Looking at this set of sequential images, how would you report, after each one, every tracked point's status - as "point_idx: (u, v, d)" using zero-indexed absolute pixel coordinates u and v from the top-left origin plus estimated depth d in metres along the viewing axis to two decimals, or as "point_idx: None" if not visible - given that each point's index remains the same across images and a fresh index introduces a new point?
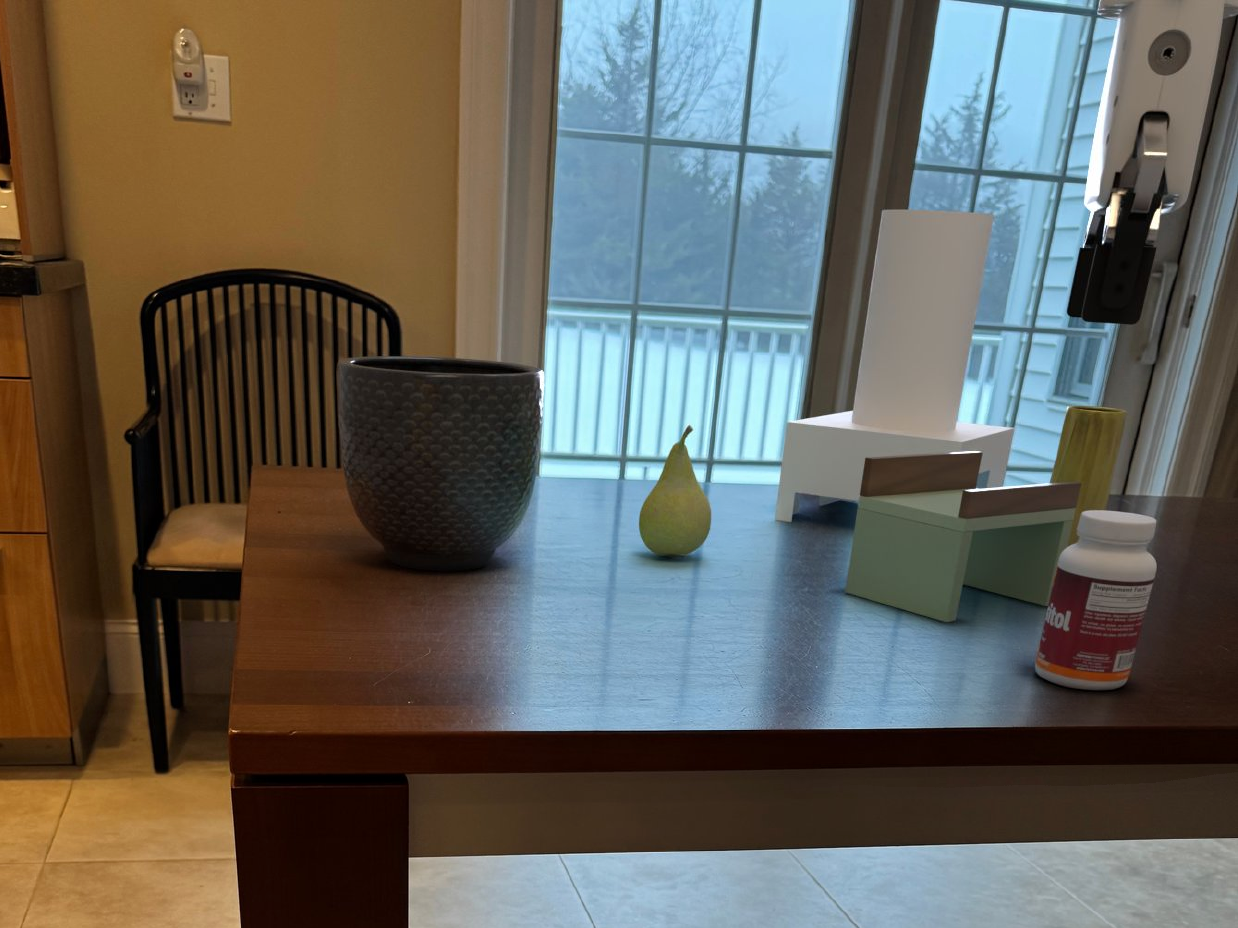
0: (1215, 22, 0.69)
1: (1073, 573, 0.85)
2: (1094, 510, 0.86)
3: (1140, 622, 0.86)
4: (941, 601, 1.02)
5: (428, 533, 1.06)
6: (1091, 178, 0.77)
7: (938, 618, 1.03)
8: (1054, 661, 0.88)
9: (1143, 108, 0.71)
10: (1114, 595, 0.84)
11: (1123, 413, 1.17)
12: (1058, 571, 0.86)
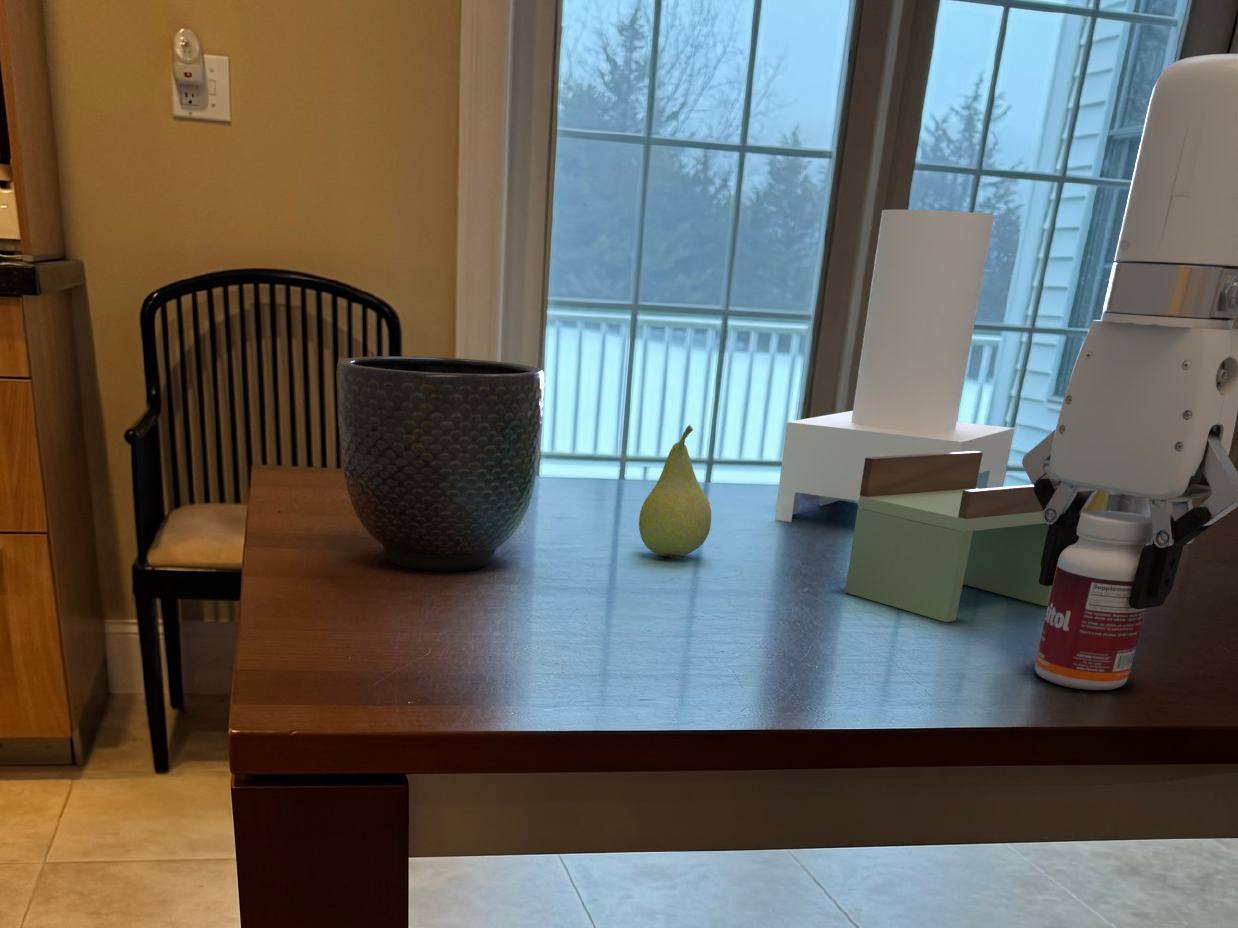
0: None
1: (1073, 573, 0.85)
2: (1094, 510, 0.86)
3: (1140, 622, 0.86)
4: (941, 601, 1.02)
5: (428, 533, 1.06)
6: (1112, 466, 0.82)
7: (938, 618, 1.03)
8: (1054, 661, 0.88)
9: (1209, 431, 0.78)
10: (1114, 595, 0.84)
11: None
12: (1058, 571, 0.86)
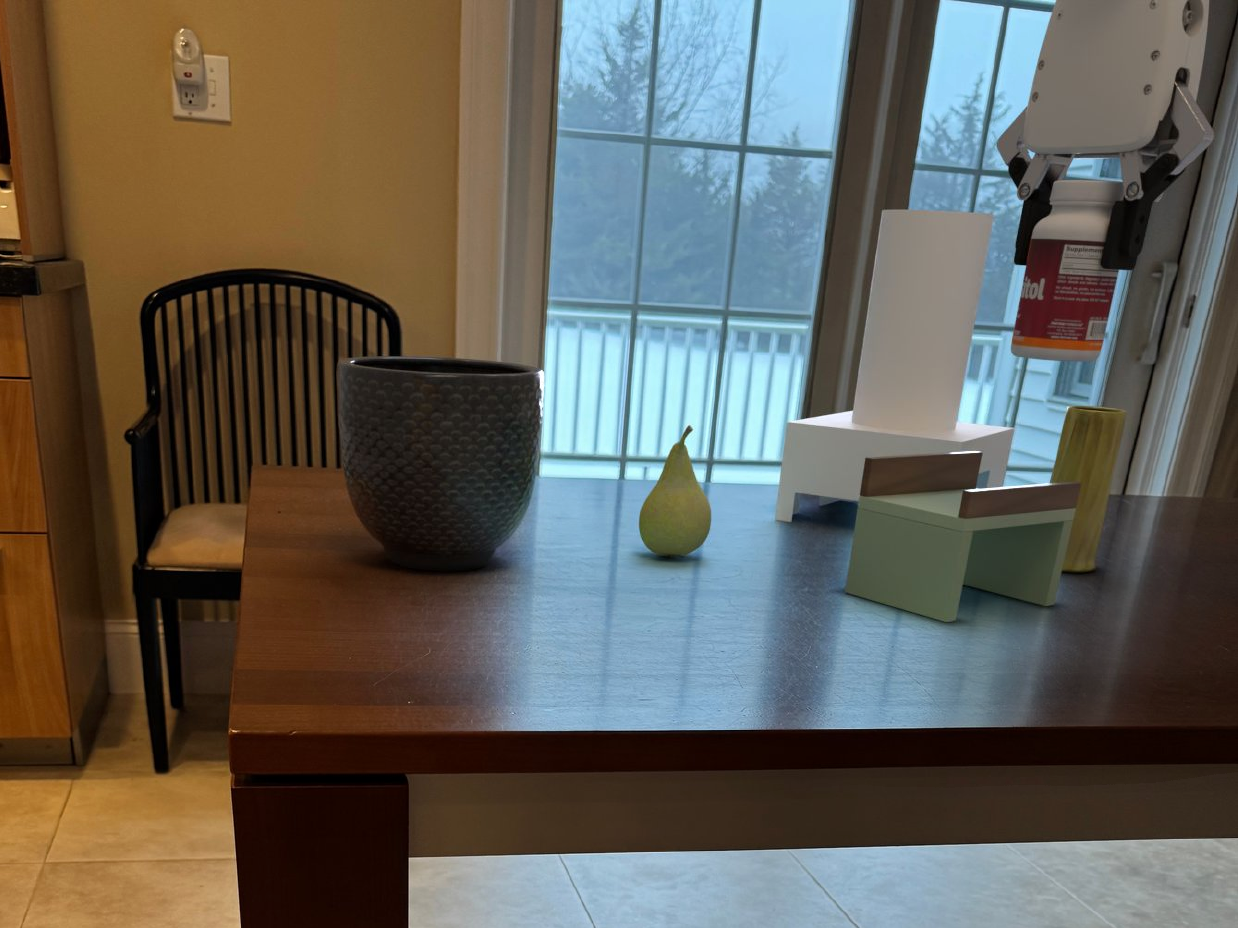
0: None
1: (1047, 238, 0.88)
2: None
3: (1111, 289, 0.89)
4: (941, 601, 1.02)
5: (428, 533, 1.06)
6: (1084, 123, 0.85)
7: (938, 618, 1.03)
8: (1029, 334, 0.90)
9: (1176, 73, 0.81)
10: (1086, 257, 0.87)
11: (1123, 413, 1.17)
12: (1032, 242, 0.89)
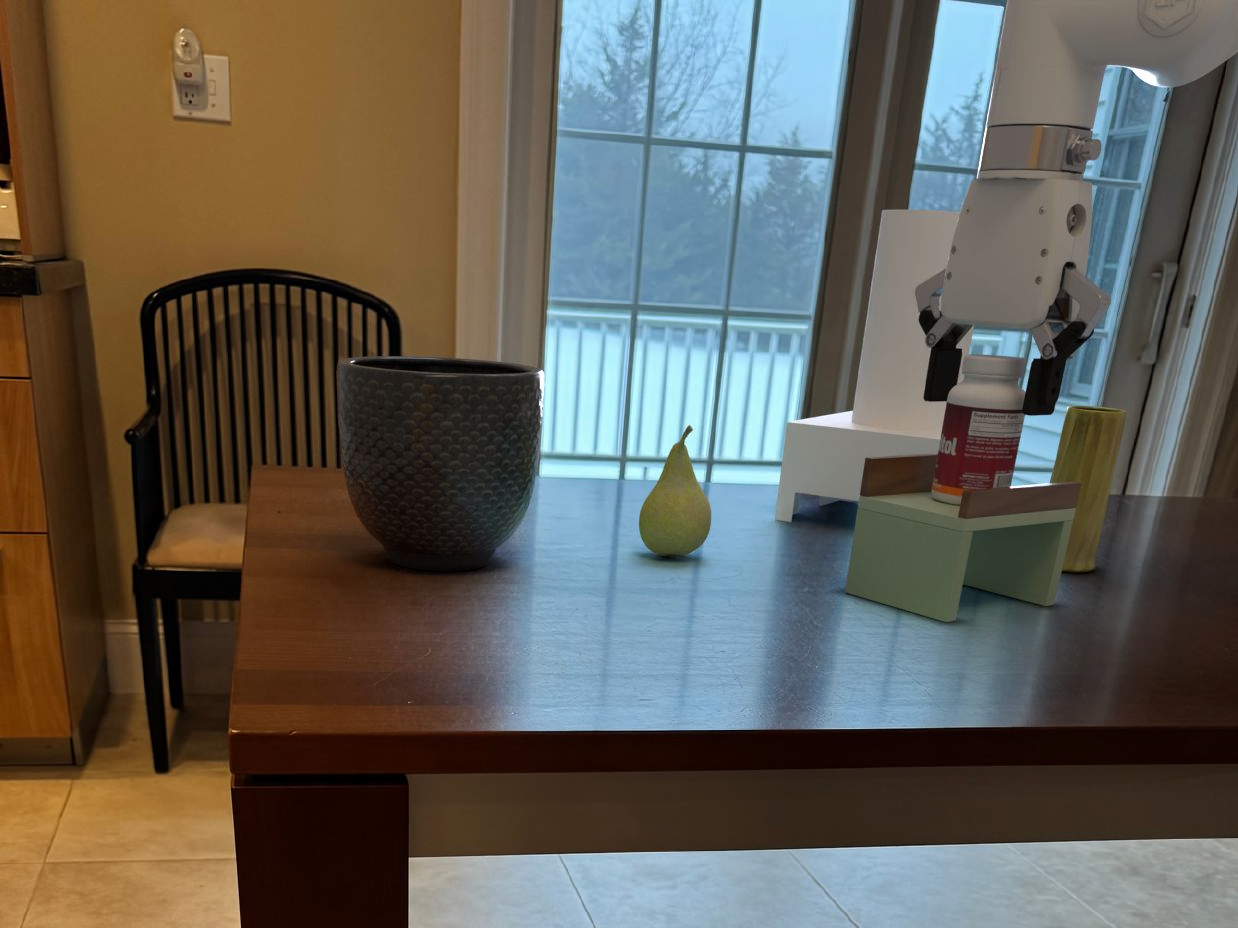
0: None
1: (958, 404, 1.02)
2: (977, 354, 1.03)
3: (1015, 447, 1.02)
4: (941, 601, 1.02)
5: (428, 533, 1.06)
6: (988, 302, 0.98)
7: (938, 618, 1.03)
8: (944, 483, 1.04)
9: (1064, 259, 0.94)
10: (991, 422, 1.01)
11: (1123, 413, 1.17)
12: (947, 405, 1.03)
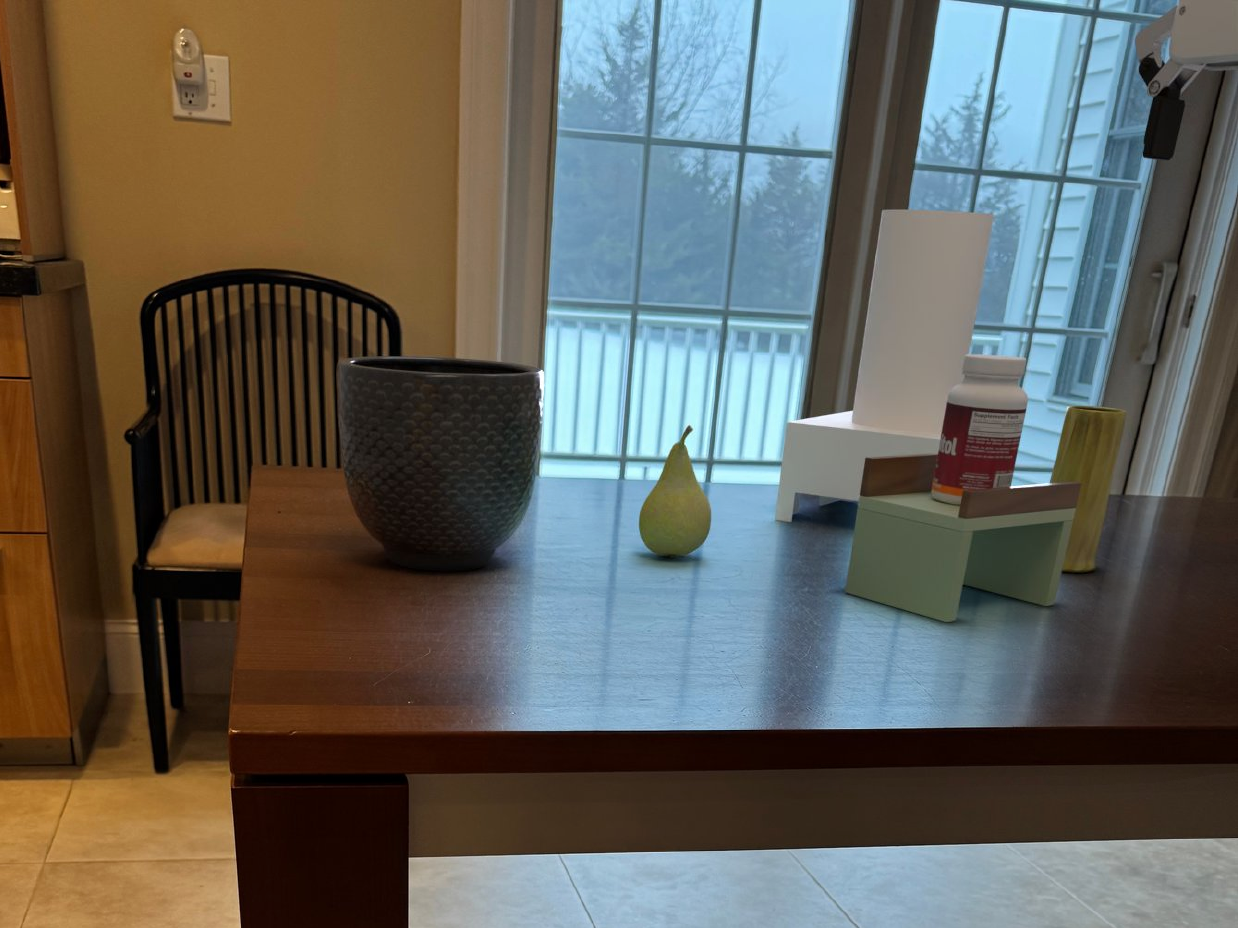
0: None
1: (958, 404, 1.02)
2: (977, 354, 1.03)
3: (1015, 447, 1.02)
4: (941, 601, 1.02)
5: (428, 533, 1.06)
6: (1230, 32, 0.92)
7: (938, 618, 1.03)
8: (944, 483, 1.04)
9: None
10: (991, 422, 1.01)
11: (1123, 413, 1.17)
12: (947, 405, 1.03)
